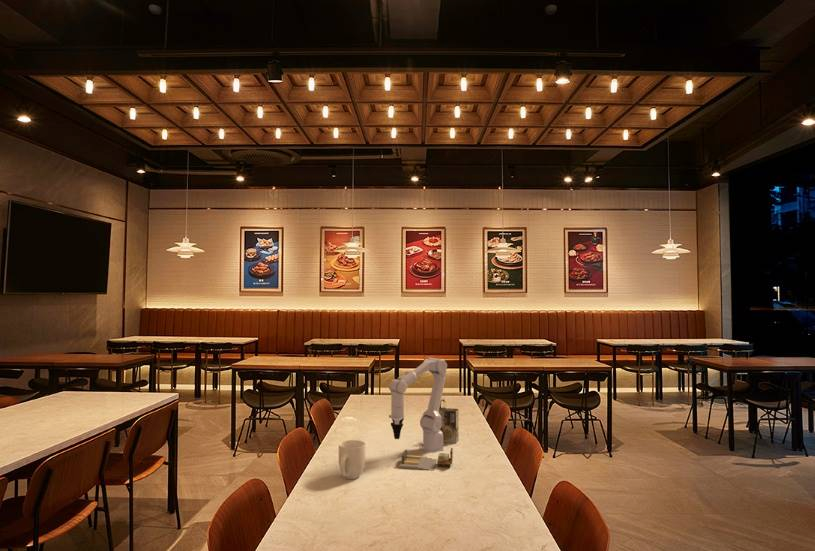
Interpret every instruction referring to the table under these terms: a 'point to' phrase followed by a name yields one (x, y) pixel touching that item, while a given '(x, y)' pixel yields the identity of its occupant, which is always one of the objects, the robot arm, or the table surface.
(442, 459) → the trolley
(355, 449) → the mug
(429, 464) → the dock
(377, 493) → the table surface
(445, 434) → the coffee box
